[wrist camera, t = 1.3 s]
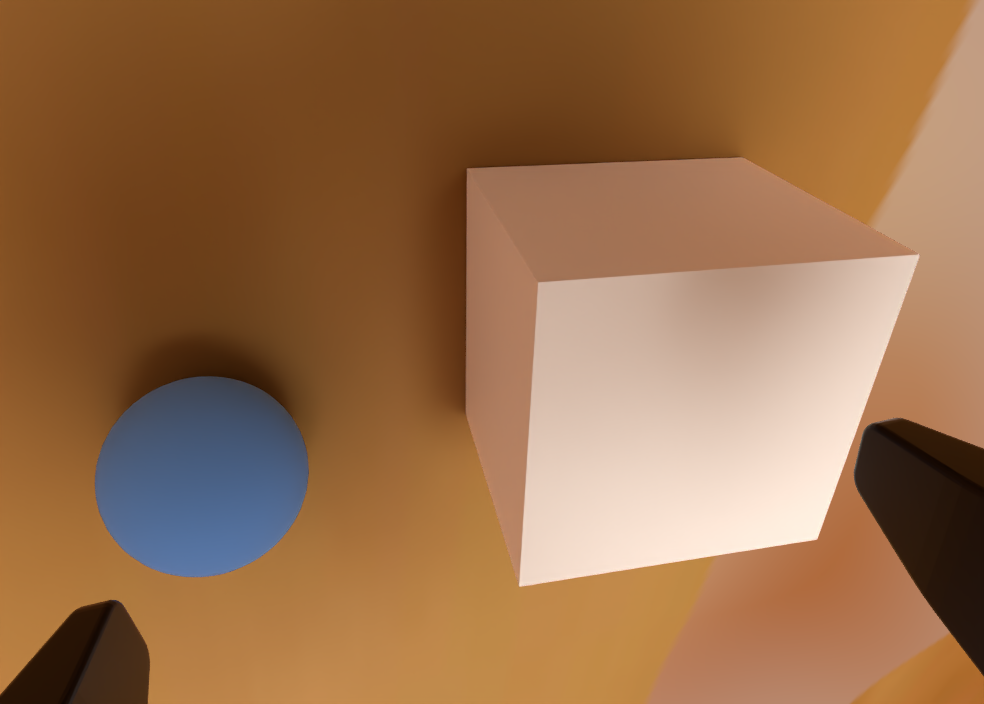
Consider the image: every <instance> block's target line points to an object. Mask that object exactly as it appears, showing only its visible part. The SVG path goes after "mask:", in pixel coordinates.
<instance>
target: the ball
mask: <svg viewBox="0 0 984 704" xmlns="http://www.w3.org/2000/svg"><path fill="white" fill-rule="evenodd" d="M308 474H309V469H308V456H307V451H306V447H305V443H304V440H303V437H302V435H301V433H300V430H299V428H298V427H297V425H296V423H295V422H294V420H293V419H292V417H291V415H290V414H289V413H288V412H287V411H286V409H285V408H284V407H283V406H282V405H281V404H280V403H278V402H277V401H276V400H275V399H274V398H273V397H271V396H270V395H269V394H267V393H266V392H264V391H263V390H261V389H259V388H257V387H255V386H253V385H250V384H248V383H245V382H242V381H239V380H235V379H231V378H225V377H214V376H202V377H192V378H185V379H182V380H178V381H174V382H172V383H169V384H166V385H164V386H161V387H159V388H157V389H155V390H153V391H151V392H149V393H148V394H146V395H145V396H143V397H142V398H141V399H139V400H138V401H136V402H135V403H134V404H132V405H131V406H130V407H129V408H128V409H127V410H126V411H125V412H124V413H123V414H122V416H121V417H120V418H119V419H118V420H117V422H116V423H115V424H114V426H113V427H112V428H111V430H110V432H109V434H108V436H107V438H106V440H105V442H104V443H103V445H102V448H101V451H100V454H99V458H98V461H97V466H96V474H95V494H96V500H97V505H98V508H99V512H100V515H101V517H102V519H103V521H104V524H105V526H106V528H107V530H108V531H109V533H110V534H111V536H112V537H113V538H114V540H115V541H116V542H117V543H118V544H119V546H120V547H121V548H122V549H123V550H124V551H125V552H127V553H128V554H129V555H130V556H131V557H133V558H134V559H136V560H138V561H139V562H141V563H142V564H144V565H146V566H148V567H150V568H152V569H154V570H157V571H160V572H163V573H167V574H171V575H176V576H183V577H206V576H214V575H219V574H224V573H227V572H231V571H233V570H236V569H238V568H241V567H243V566H245V565H247V564H249V563H251V562H253V561H255V560H256V559H258V558H259V557H261V556H262V555H264V554H265V553H266V552H268V551H269V550H270V549H271V548H272V547H274V546H275V545H276V544H277V543H278V542H279V541H280V539H281V538H282V537H283V536H284V535H285V534H286V532H287V531H288V530H289V528H290V527H291V525H292V524H293V522H294V521H295V519H296V517H297V515H298V513H299V511H300V509H301V507H302V503H303V500H304V497H305V494H306V490H307V483H308Z"/></svg>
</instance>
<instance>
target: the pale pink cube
mask: <svg viewBox="0 0 984 704" xmlns="http://www.w3.org/2000/svg"><path fill="white" fill-rule="evenodd" d="M919 256H920V254H918V253H916V252H915V251H913V250H911V249H909V248H907V247H906V246H903V245H902V244H900V243H898V242H896V241H895V240H893V239H891V238H889V237H887V236H885V235H884V234H882V233H880V232H878V231H876V230H874V229H873V228H871V227H869V226H867V225H865V224H864V223H862V222H860V221H858V220H856V219H854V218H853V217H851V216H849V215H847V214H845V213H843V212H842V211H840V210H838V209H836V208H834V207H833V206H831V205H829V204H827V203H825V202H823V201H822V200H820V199H818V198H816V197H814V196H812V195H811V194H809V193H807V192H805V191H803V190H801V189H800V188H798V187H796V186H794V185H792V184H791V183H789V182H787V181H785V180H783V179H781V178H780V177H778V176H776V175H774V174H772V173H770V172H769V171H767V170H765V169H763V168H761V167H759V166H758V165H756V164H754V163H752V162H750V161H749V160H747V159H745V158H743V157H736V158H711V159H686V160H661V161H636V162H611V163H587V164H562V165H537V166H512V167H487V168H467V256H466V417H467V420H468V423H469V427H470V430H471V433H472V436H473V439H474V443H475V446H476V449H477V452H478V456H479V459H480V462H481V465H482V468H483V472H484V475H485V478H486V481H487V485H488V488H489V491H490V494H491V497H492V501H493V504H494V507H495V510H496V514H497V517H498V520H499V523H500V527H501V530H502V533H503V536H504V539H505V543H506V546H507V549H508V552H509V556H510V559H511V562H512V565H513V568H514V572H515V575H516V578H517V581H518V585H519V587H520V586H526V585H533V584H539V583H545V582H551V581H558V580H564V579H570V578H577V577H583V576H589V575H596V574H602V573H608V572H615V571H621V570H627V569H633V568H640V567H646V566H652V565H659V564H665V563H671V562H678V561H684V560H690V559H696V558H703V557H709V556H715V555H721V554H728V553H734V552H740V551H747V550H753V549H759V548H766V547H772V546H778V545H785V544H790V543H797V542H803V541H810V540H816V539H817V537H818V535H819V532H820V530H821V527H822V524H823V521H824V518H825V516H826V513H827V510H828V507H829V505H830V502H831V499H832V496H833V494H834V491H835V488H836V485H837V482H838V480H839V477H840V474H841V471H842V469H843V466H844V463H845V460H846V458H847V455H848V452H849V449H850V447H851V444H852V441H853V438H854V436H855V433H856V430H857V427H858V424H859V422H860V419H861V416H862V414H863V411H864V408H865V405H866V402H867V400H868V397H869V394H870V391H871V389H872V386H873V383H874V380H875V378H876V375H877V372H878V369H879V367H880V364H881V361H882V358H883V356H884V353H885V350H886V347H887V345H888V342H889V339H890V336H891V333H892V331H893V328H894V325H895V322H896V319H897V317H898V314H899V311H900V309H901V306H902V303H903V300H904V298H905V295H906V292H907V289H908V286H909V284H910V281H911V278H912V275H913V273H914V270H915V267H916V264H917V262H918V259H919Z"/></svg>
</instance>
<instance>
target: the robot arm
mask: <svg viewBox="0 0 984 704" xmlns="http://www.w3.org/2000/svg"><path fill="white" fill-rule="evenodd" d="M854 480H855V485H856V487H857V490H858V492H859V493H860V495H861V497H862V499H863V500H864V502H865V503H866V505H867V507H868V508H869V510H870V511H871V513H872V515H873V516H874V518H875V520H876V521H877V523H878V524H879V526H880V528H881V529H882V531H883V533H884V534H885V536H886V537H887V539H888V541H889V542H890V544H891V546H892V547H893V549H894V550H895V552H896V554H897V555H898V557H899V559H900V560H901V562H902V563H903V565H904V567H905V568H906V570H907V571H908V573H909V575H910V576H911V578H912V579H913V581H914V583H915V584H916V586H917V587H918V589H919V590H920V591H921V593H922V594H923V596H924V598H925V599H926V600H927V602H928V603H929V605H930V606H931V607H932V608H933V610H934V611H935V613H936V614H937V616H938V617H939V618H940V619H941V621H942V622H943V623H944V625H945V626H946V627H947V629H948V630H949V631H950V633H951V634H952V635H953V637H954V638H955V639H956V641H957V642H958V643H959V645H960V646H961V647H962V648H963V650H964V651H965V652H966V654H967V655H968V656H969V658H970V659H971V660H972V662H973V663H974V664H975V666H976V667H977V668H978V670H979V671H980V672H981V673H982V675H983V676H984V449H983V448H981V447H978V446H975V445H973V444H970V443H967V442H965V441H962V440H959V439H957V438H954V437H951V436H949V435H946V434H944V433H941V432H938V431H936V430H933V429H930V428H928V427H925V426H922V425H920V424H917V423H914V422H912V421H909V420H906V419H903V418H893V419H888V420H884V421H880V422H875V423H871V424H870V425H868V426H867V427H866V428H865V430H864V432H863V434H862V439H861V443H860V447H859V451H858V456H857V460H856V464H855V469H854ZM149 672H150V658H149V652H148V648H147V645H146V643H145V641H144V639H143V637H142V636H141V634H140V632H139V631H138V629H137V627H136V626H135V624H134V622H133V620H132V619H131V617H130V615H129V614H128V612H127V610H126V609H125V607H124V606H123V605H122V603H120V602H119V601H117V600H108V601H104V602H100V603H95V604H91V605H87V606H83V607H80V608H78V609H76V610H75V611H74V612H73V613H72V614H71V615H70V616H69V617H68V618H67V619H66V620H65V621H64V622H63V623H62V625H61V626H60V627H59V628H58V629H57V630H56V632H55V633H54V634H53V635H52V636H51V637H50V638H49V640H48V641H47V642H46V643H45V644H44V645H43V646H42V648H41V649H40V650H39V651H38V652H37V653H36V654H35V656H34V657H33V658H32V659H31V660H30V661H29V662H28V664H27V665H26V666H25V667H24V668H23V669H22V670H21V672H20V673H19V674H18V675H17V676H16V677H15V678H14V680H13V681H12V682H11V683H10V684H9V685H8V686H7V688H6V689H5V690H4V691H3V692H2V693H1V694H0V704H148V689H149Z"/></svg>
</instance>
